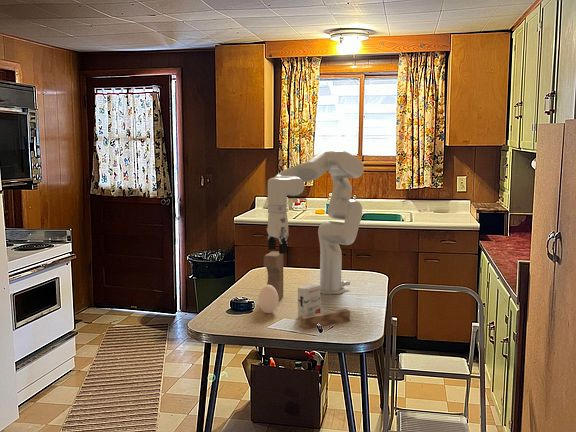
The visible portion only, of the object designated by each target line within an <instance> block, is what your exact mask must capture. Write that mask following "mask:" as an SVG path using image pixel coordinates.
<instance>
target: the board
mask: <svg viewBox="0 0 576 432" xmlns="http://www.w3.org/2000/svg"><path fill="white" fill-rule="evenodd" d="M299 319H300V320H299V321H300V325H299V327H300V328H302V329H303V330H307V329H308V330H309V329H313V328H318V327H317V324H318V323H319V324H320V325H322V326H321V327H325V326H330V325H335V324H340V323H346V322H350V321H351V311H350V310H349V309H347V308H340V309H335V310H331V311H330V310H329V311H324V312H320V313H317V314H311V315H305V316H300V317H299Z"/></svg>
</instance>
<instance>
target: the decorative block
mask: <svg viewBox="0 0 576 432" xmlns="http://www.w3.org/2000/svg"><path fill="white" fill-rule="evenodd" d="M263 267H264V268H266V271H267V283H266V285H271V286H273V287H274V288H275V289H276V291H277V294H278V297H279V301H280V300H281V299H282V298H283V297H284V254H279V250H278V251H275V250H270V252H268V253H266V254H265V255H264V256H263Z"/></svg>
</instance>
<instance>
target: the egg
mask: <svg viewBox="0 0 576 432" xmlns="http://www.w3.org/2000/svg"><path fill="white" fill-rule="evenodd" d="M279 301H280V300H279V297H278V294H277V291H276V289H275V288H274V287H273V286H271V285H267V284H266V285H264V286H263V287H262V288H261V290H260V291H259V294H258V301H257V302H258V306H259V309H260V310H261V311H262V312H263V313H265V314H273V312H275V311H276V310H277V308H278V305H279Z"/></svg>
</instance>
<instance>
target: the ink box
mask: <svg viewBox="0 0 576 432" xmlns="http://www.w3.org/2000/svg"><path fill="white" fill-rule="evenodd" d="M317 313H321V293H320V284H313V283H310V284H307V285H304V286H300V287H297V318H300V316H305V315H311V314H317Z"/></svg>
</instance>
